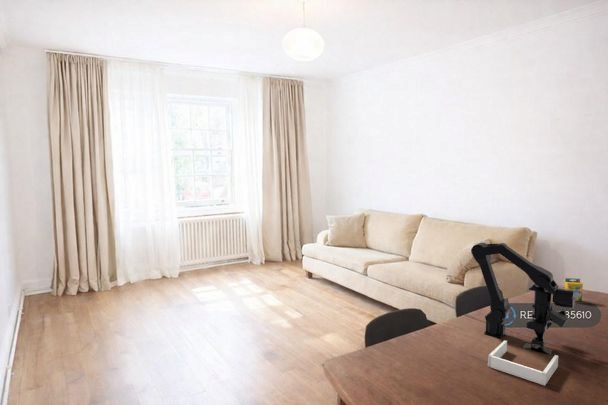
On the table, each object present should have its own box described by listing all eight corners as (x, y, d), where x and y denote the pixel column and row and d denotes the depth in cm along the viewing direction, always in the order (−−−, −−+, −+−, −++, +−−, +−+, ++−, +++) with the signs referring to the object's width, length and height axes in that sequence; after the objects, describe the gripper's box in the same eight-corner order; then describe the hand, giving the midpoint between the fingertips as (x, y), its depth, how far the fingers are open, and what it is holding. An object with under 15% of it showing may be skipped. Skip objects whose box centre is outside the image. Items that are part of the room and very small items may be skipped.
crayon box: (566, 301, 207) (567, 279, 206) (563, 299, 210) (565, 278, 209) (581, 301, 206) (583, 280, 205) (578, 299, 209) (580, 278, 208)
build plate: (557, 351, 153) (558, 340, 153) (554, 359, 148) (555, 347, 147) (521, 342, 161) (522, 331, 161) (517, 349, 156) (518, 337, 155)
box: (487, 366, 141) (488, 355, 141) (504, 350, 153) (504, 340, 153) (544, 385, 129) (545, 374, 128) (557, 366, 141) (558, 355, 140)
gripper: (560, 314, 143) (558, 355, 145) (571, 301, 157) (569, 339, 158) (526, 307, 151) (525, 346, 152) (539, 295, 164) (538, 331, 166)
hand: (540, 340), depth 157 cm, fingers closed
